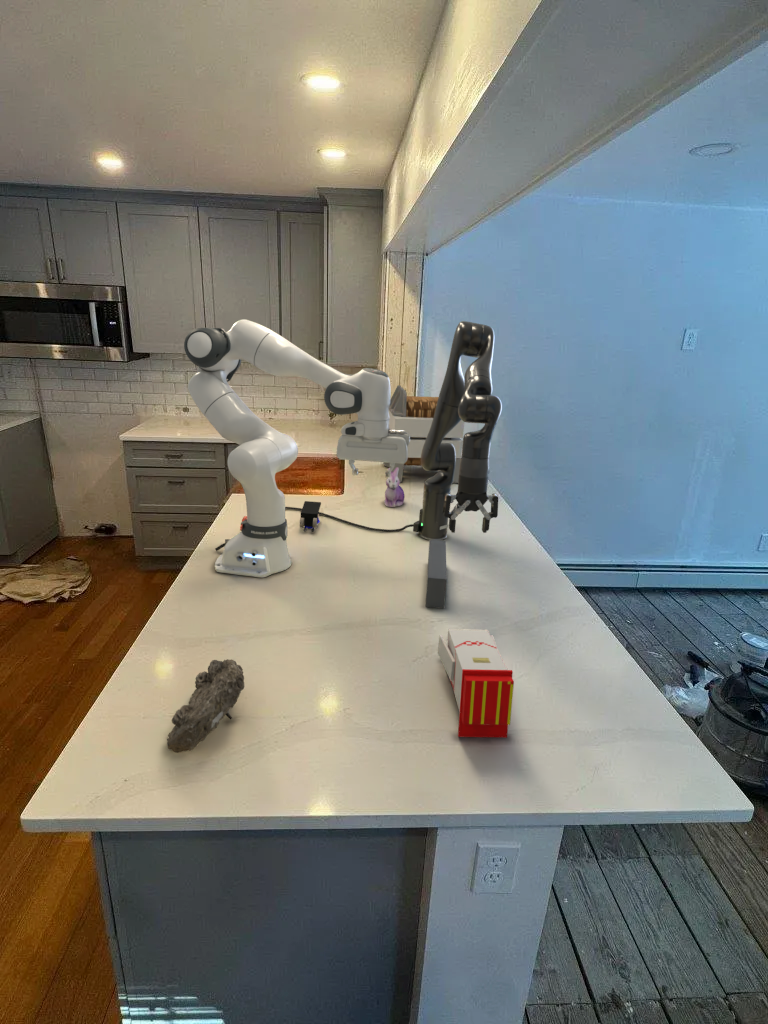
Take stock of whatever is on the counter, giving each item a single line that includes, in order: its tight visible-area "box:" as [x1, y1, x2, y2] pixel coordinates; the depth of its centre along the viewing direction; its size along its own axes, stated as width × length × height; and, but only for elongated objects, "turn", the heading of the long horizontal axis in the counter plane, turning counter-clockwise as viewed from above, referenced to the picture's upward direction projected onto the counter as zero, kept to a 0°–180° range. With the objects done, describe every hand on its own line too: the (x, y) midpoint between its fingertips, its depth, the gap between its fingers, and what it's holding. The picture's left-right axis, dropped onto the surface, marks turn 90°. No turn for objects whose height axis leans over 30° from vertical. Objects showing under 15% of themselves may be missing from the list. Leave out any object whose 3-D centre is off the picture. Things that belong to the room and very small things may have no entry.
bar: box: [425, 540, 448, 609], centre depth 163 cm, size 26×5×9 cm, turn 175°
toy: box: [437, 628, 515, 738], centre depth 117 cm, size 12×13×30 cm
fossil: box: [166, 658, 245, 754], centre depth 106 cm, size 22×10×15 cm
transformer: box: [382, 384, 465, 484], centre depth 268 cm, size 34×33×41 cm
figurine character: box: [299, 500, 322, 533], centre depth 201 cm, size 7×8×15 cm
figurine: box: [383, 467, 405, 508], centre depth 227 cm, size 9×10×15 cm
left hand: (371, 476), depth 163 cm, fingers open, 8 cm apart
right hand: (468, 531), depth 151 cm, fingers open, 8 cm apart
